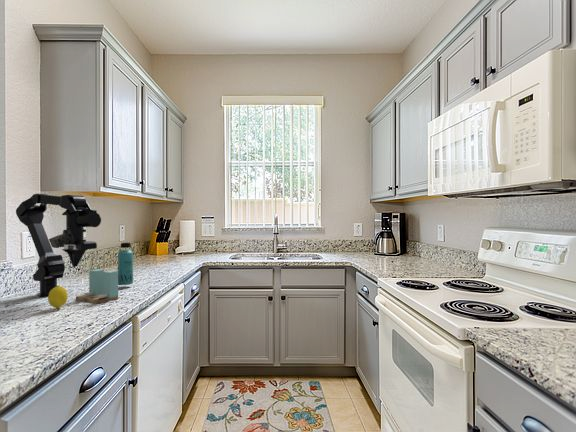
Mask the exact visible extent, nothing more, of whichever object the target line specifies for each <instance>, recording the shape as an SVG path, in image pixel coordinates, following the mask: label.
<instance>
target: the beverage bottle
mask: <svg viewBox="0 0 576 432" xmlns="http://www.w3.org/2000/svg"><path fill="white" fill-rule="evenodd" d="M131 247H132V246H131V242H121V243H120V248H121V249H122V250H120V251H117V271H118V286H129V285H133V284H134V283H133V282H134V252H133V250H131V249H126V248H131ZM124 248H125V249H124Z"/></svg>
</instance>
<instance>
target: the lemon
mask: <svg viewBox="0 0 576 432" xmlns="http://www.w3.org/2000/svg"><path fill="white" fill-rule="evenodd" d="M68 295H69V294H68V292H67V289H66V288H65V287H63V286H60V285H57V286H56V287H55V288H53V289H52V290H51V291H50V292H49V296H47V297H48V299H47V301H48V304H49V305H50V306H51V307H53V308H54V309H58V310H59V309H60V308H61V307H63V306H65V304H66V303H67V301H68V298H69V297H68Z"/></svg>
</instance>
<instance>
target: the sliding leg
mask: <svg viewBox="0 0 576 432" xmlns="http://www.w3.org/2000/svg"><path fill="white" fill-rule="evenodd" d="M104 272H105V271H104V269H98V268H97V269H96V268H95V269H89V272H88V275H89V278H88V282H89V283H88V285H89V287H88V289H89V290H88V291H89V292H85V293H83V295H84V296H88V295H94V296H97V295H101V294H104Z"/></svg>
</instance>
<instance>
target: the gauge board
mask: <svg viewBox="0 0 576 432" xmlns="http://www.w3.org/2000/svg"><path fill="white" fill-rule="evenodd" d="M101 295H103V294H101ZM118 299H119V295H118V296H115V297H112V298H108V297H103V298H99V295H97V296H94V295H88V296H84V294H81V295H76V296H75V300H76V301H80V300H82V302H87V301H88V302H89V303H93V302H94V303H95V304H105V303H107V302H112V301H115V300H118Z"/></svg>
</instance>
